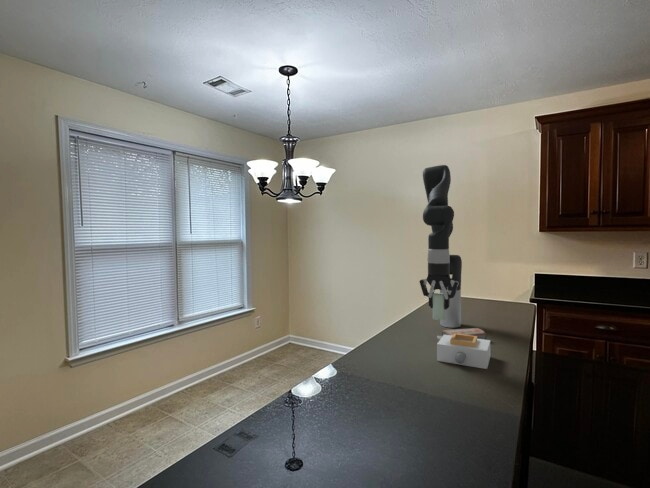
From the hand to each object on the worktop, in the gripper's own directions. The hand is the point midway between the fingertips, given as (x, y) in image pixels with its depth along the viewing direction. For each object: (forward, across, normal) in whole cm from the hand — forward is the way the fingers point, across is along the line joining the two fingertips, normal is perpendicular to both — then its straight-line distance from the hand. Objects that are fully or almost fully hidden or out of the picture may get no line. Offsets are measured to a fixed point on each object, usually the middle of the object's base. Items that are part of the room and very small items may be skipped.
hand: (439, 308), depth 129 cm
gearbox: (+17, -9, +1) cm, 19 cm away
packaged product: (+18, -4, -20) cm, 28 cm away
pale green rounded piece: (+4, 0, 0) cm, 4 cm away
